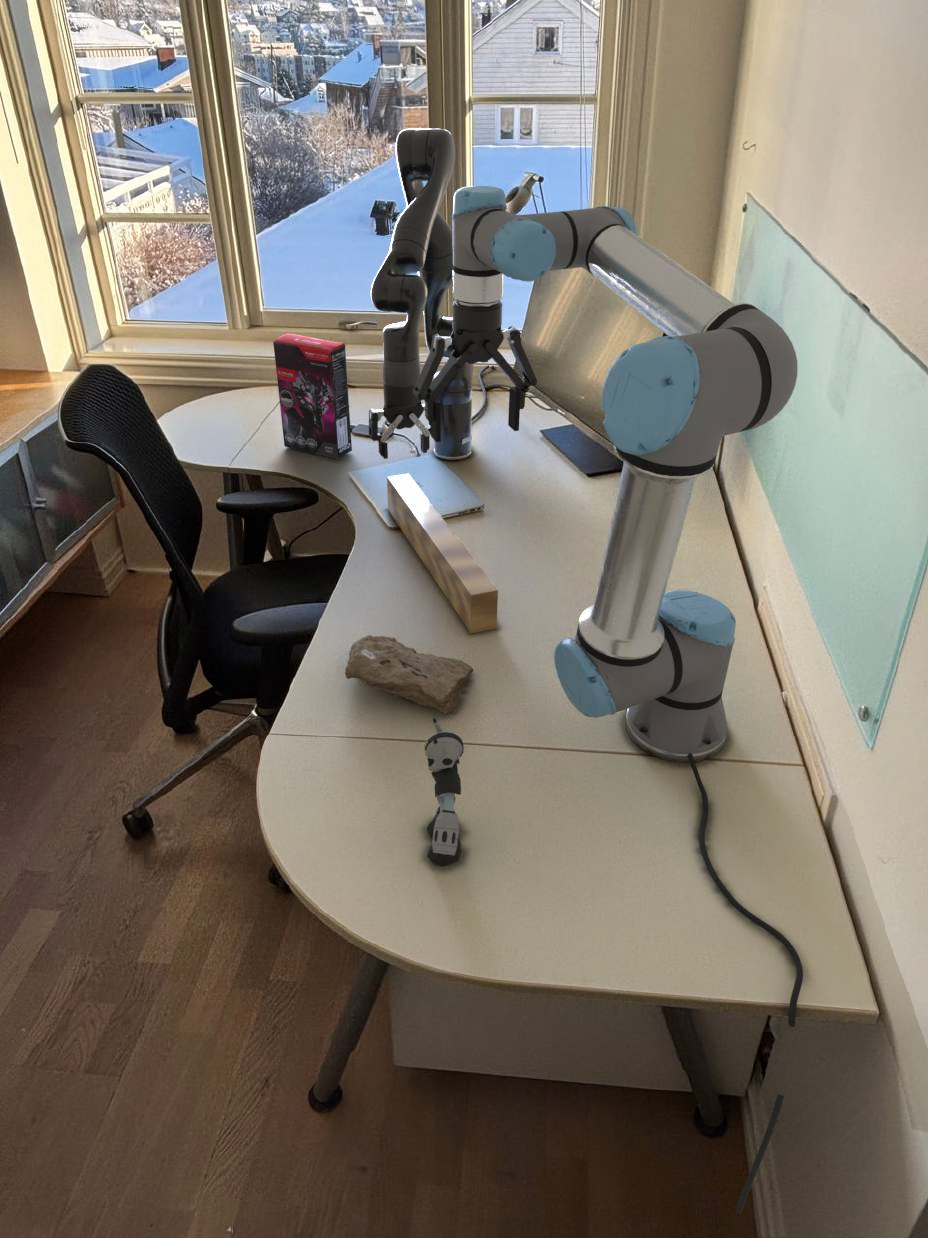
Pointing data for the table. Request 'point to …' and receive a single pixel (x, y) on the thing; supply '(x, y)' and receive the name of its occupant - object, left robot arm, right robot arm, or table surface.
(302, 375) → the graphics card box
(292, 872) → the table surface
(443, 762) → the robot
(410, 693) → the stone
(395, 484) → the bar
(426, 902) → the table surface
